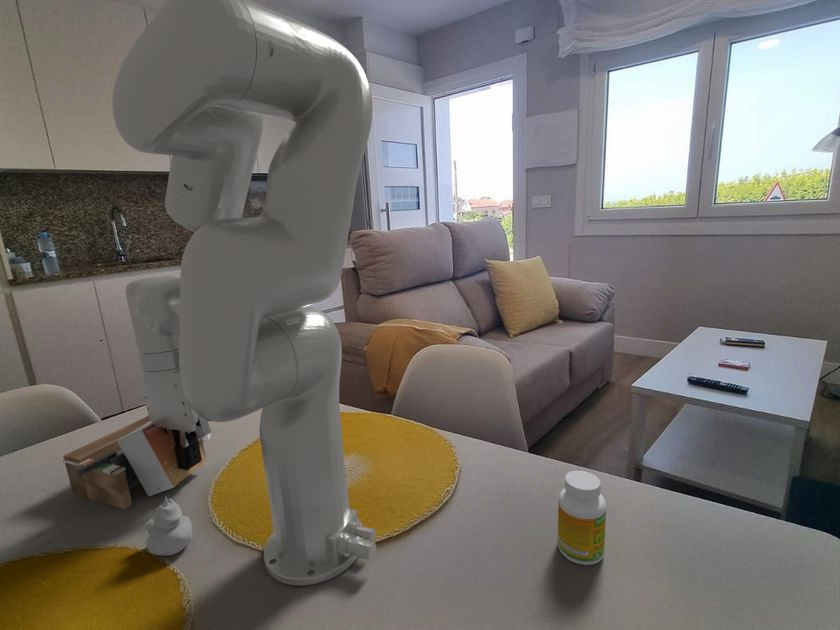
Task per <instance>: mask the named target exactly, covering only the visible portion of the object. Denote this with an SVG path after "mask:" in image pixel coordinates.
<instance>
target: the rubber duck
mask: <svg viewBox="0 0 840 630" xmlns="http://www.w3.org/2000/svg"><path fill="white" fill-rule="evenodd" d="M173 500H174V499H172V498H170V497H169V498H168V497H167V496H165V497H164V500H163V503H162V504H159V505H157V507H156V509H155V510H154V511H153V514H152V518H150V519H148V521H147V522H146V523H145V524H144V528H145V530H146V532H147V533H148V537H147V539H146V548H147V550H148V552H149V553H151V554H152V555H157V556H166V557H168V556H173V555H176V554H178V553H179V552H181V551H183V550H184V548H186V547H187V546H189V544H190V543H191V541H192V540H193V524H192V521H191V519H190V518H189V517H188V516H186V515H183V511H182V509H181V506H180V505H179V503H177V502H175V501H173Z"/></svg>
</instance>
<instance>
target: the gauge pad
mask: <svg viewBox="0 0 840 630" xmlns="http://www.w3.org/2000/svg"><path fill="white" fill-rule="evenodd" d="M104 463H110V464H114V465H117V466H123V467H125V468H126V469H125V475H126V479H127V483H128V488H129V489H130V487H132V486H134V485H135V484H137V483H138V482H140V480H139V479H138V477H137V475H136V473H135V472H134V470H133V468H132V466H131V465H130V463H129V461H128V459H127V458H126V456H125V454H124V453H123V451H122V449H121V450H119V451H117V452H114V451H113V452H111V453H109V454H107V455H105V456H103V457H101V458H99V459H97V460H95V461H93V462H91V463H89V464H87V465H85V466H84V467H82V468H80V469H78V470H76V471H75V473H76V476H81V475H83V474H85V473H87V472H89V471H91V470H93V469H95V468H96V467H98V466H100V465H102V464H104Z"/></svg>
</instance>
